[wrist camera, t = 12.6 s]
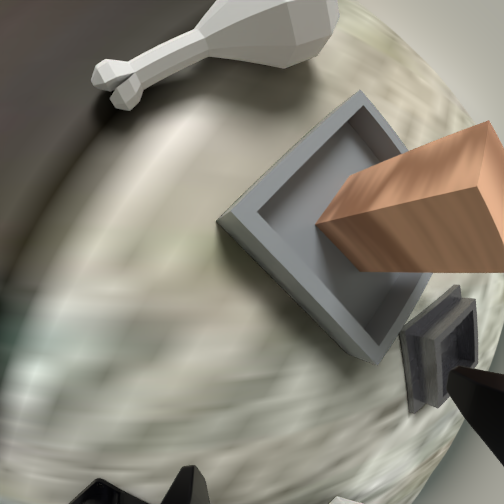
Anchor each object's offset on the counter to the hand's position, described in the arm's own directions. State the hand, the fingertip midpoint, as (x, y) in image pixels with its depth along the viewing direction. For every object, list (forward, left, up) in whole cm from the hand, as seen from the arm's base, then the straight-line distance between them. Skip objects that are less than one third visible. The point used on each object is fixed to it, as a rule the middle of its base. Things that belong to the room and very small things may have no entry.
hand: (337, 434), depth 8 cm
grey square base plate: (+12, -18, -11) cm, 24 cm away
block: (+12, 0, -10) cm, 16 cm away
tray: (+12, -1, -11) cm, 16 cm away
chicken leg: (+14, +16, -12) cm, 24 cm away
